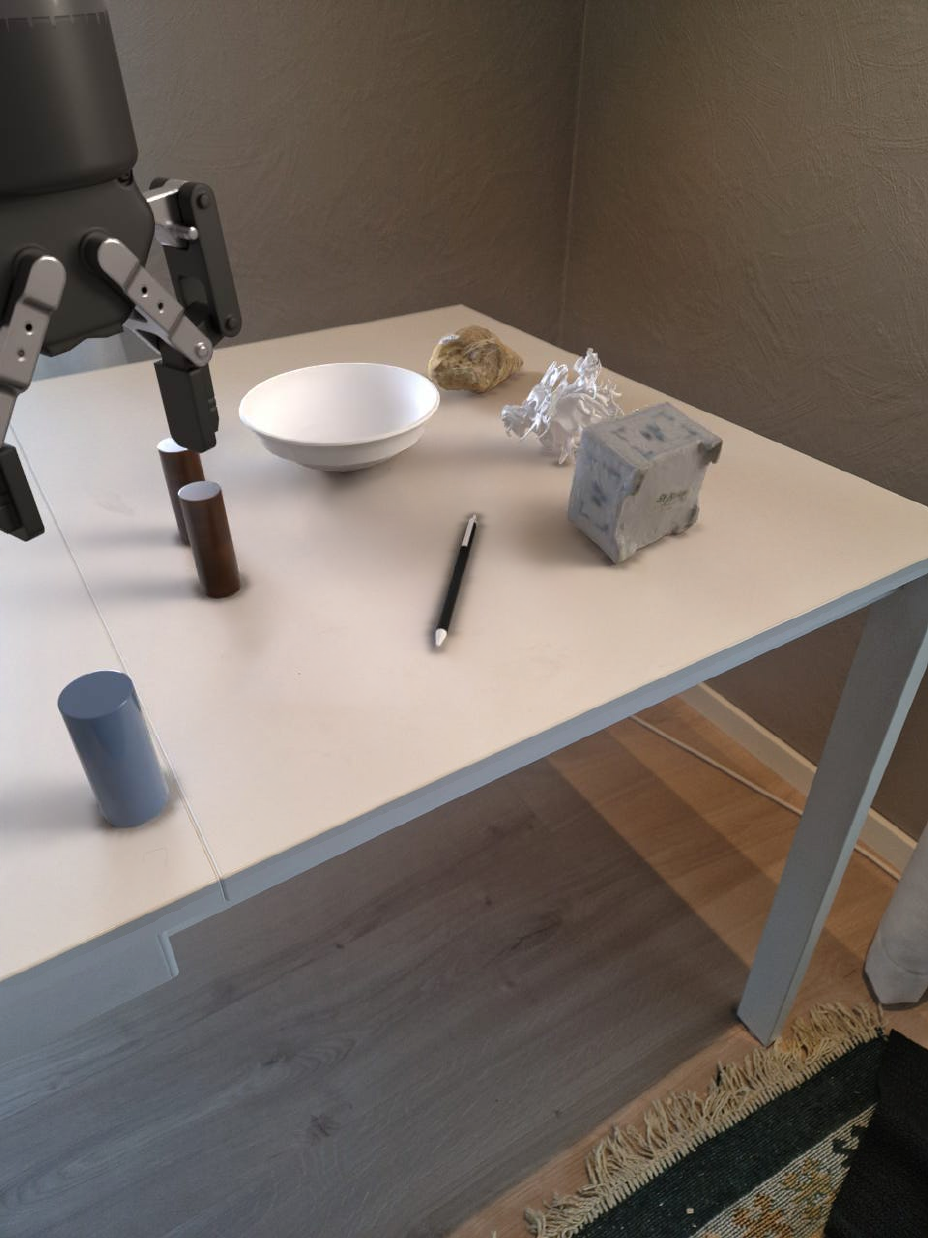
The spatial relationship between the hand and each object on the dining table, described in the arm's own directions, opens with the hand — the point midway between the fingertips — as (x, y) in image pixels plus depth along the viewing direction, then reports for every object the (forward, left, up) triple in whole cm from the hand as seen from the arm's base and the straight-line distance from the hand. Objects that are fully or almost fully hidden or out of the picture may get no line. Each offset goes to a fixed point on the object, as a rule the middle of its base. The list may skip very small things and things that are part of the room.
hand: (115, 486), depth 35 cm
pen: (+24, +19, -24) cm, 39 cm away
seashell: (+43, +54, -24) cm, 73 cm away
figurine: (+45, +34, -24) cm, 61 cm away
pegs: (+6, +31, -24) cm, 40 cm away
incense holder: (+41, +18, -24) cm, 51 cm away
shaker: (-4, +6, -24) cm, 25 cm away
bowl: (+23, +44, -24) cm, 55 cm away
